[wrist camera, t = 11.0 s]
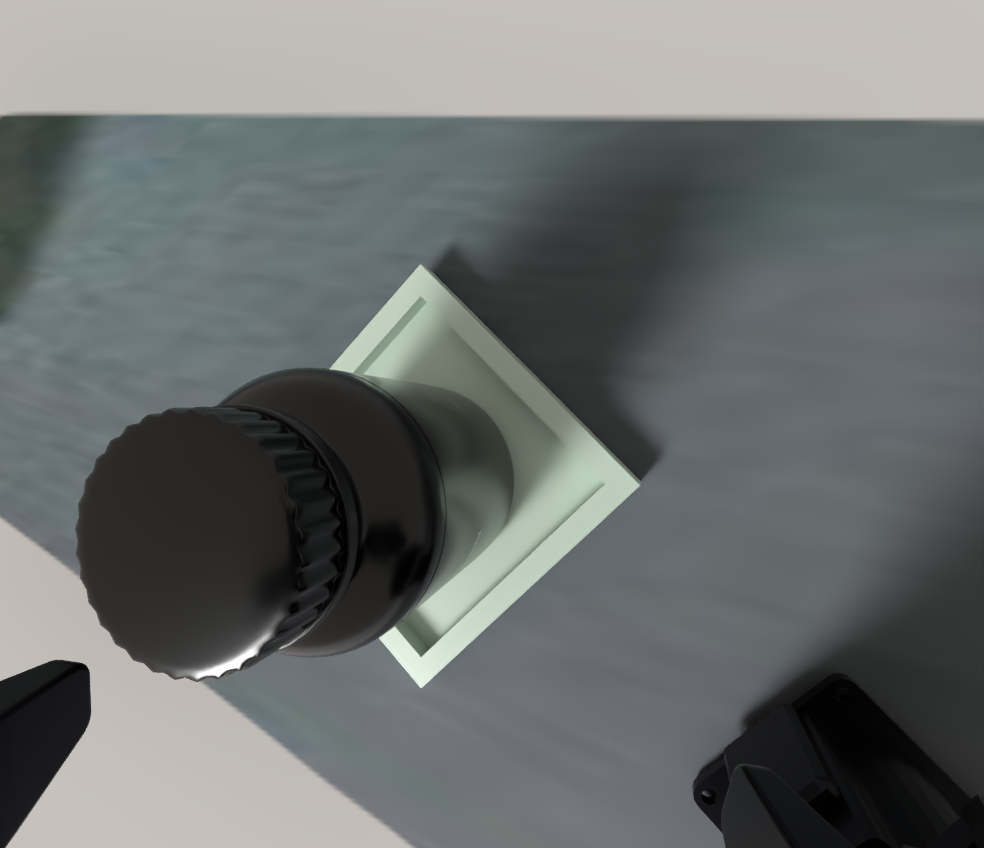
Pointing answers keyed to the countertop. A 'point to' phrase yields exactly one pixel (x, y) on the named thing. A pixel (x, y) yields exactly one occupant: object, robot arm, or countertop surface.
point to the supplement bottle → (287, 518)
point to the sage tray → (534, 452)
